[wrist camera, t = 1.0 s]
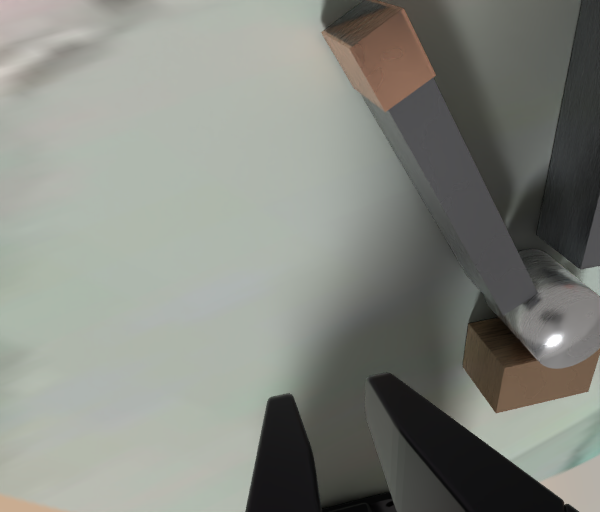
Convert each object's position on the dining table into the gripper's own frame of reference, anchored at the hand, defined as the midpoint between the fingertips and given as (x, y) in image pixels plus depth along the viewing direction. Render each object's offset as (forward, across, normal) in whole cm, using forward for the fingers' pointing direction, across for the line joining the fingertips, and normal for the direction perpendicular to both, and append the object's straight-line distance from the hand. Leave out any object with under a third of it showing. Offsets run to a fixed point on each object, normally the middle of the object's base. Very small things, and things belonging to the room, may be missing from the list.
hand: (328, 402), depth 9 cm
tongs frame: (+12, -13, +3) cm, 18 cm away
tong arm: (+12, -7, +1) cm, 14 cm away
